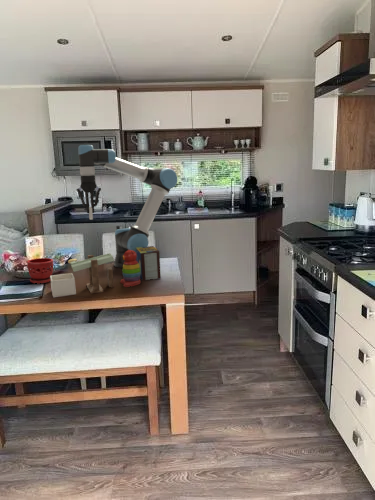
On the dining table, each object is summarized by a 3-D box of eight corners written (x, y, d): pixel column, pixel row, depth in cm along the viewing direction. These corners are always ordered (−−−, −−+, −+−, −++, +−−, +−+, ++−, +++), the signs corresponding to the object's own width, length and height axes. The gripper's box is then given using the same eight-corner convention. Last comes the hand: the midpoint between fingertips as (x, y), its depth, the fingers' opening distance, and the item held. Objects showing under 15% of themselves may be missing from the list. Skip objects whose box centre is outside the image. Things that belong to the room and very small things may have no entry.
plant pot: (47, 285, 199) (44, 263, 196) (24, 284, 201) (21, 262, 199) (59, 278, 211) (57, 257, 209) (37, 277, 214) (35, 257, 211)
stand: (109, 282, 202) (107, 252, 198) (115, 290, 188) (113, 258, 185) (86, 285, 197) (84, 255, 194) (90, 293, 184) (88, 261, 180)
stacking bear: (119, 282, 201) (117, 249, 198) (137, 279, 205) (136, 247, 202) (124, 287, 192) (122, 253, 188) (143, 284, 196) (142, 251, 192)
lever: (107, 255, 205) (106, 249, 204) (114, 262, 189) (113, 256, 188) (68, 265, 198) (67, 259, 198) (72, 274, 182) (70, 267, 181)
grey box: (73, 288, 193) (72, 273, 191) (76, 294, 183) (74, 278, 181) (51, 291, 189) (50, 275, 187) (52, 297, 179) (51, 281, 178)
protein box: (154, 271, 220) (153, 245, 217) (160, 278, 205) (159, 251, 202) (136, 273, 217) (135, 247, 214) (141, 281, 202) (140, 252, 199)
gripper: (98, 174, 207) (102, 217, 212) (74, 175, 202) (78, 219, 207) (101, 174, 200) (104, 219, 205) (75, 175, 195) (79, 220, 200)
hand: (91, 219), depth 206 cm, fingers closed
